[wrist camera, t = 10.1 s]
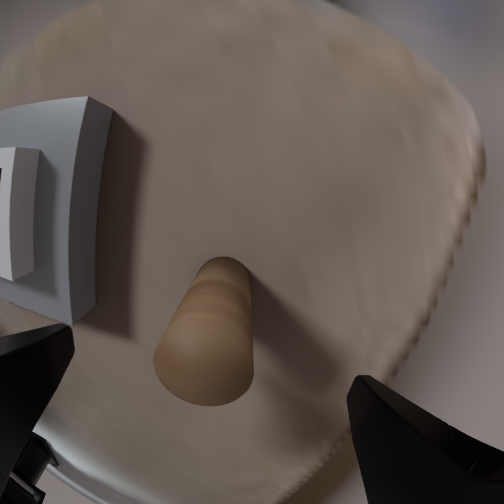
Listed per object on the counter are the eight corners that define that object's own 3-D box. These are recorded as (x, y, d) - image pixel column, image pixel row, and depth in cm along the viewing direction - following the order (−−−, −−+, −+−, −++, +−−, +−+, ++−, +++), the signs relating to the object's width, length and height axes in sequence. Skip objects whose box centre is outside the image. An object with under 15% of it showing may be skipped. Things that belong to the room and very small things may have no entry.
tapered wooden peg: (246, 311, 16) (245, 411, 8) (194, 303, 16) (154, 395, 8) (255, 261, 15) (262, 336, 7) (200, 252, 15) (153, 317, 7)
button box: (96, 305, 16) (54, 342, 11) (-12, 269, 15) (-51, 288, 10) (113, 109, 13) (66, 85, 8) (-4, 121, 12) (-47, 115, 8)
